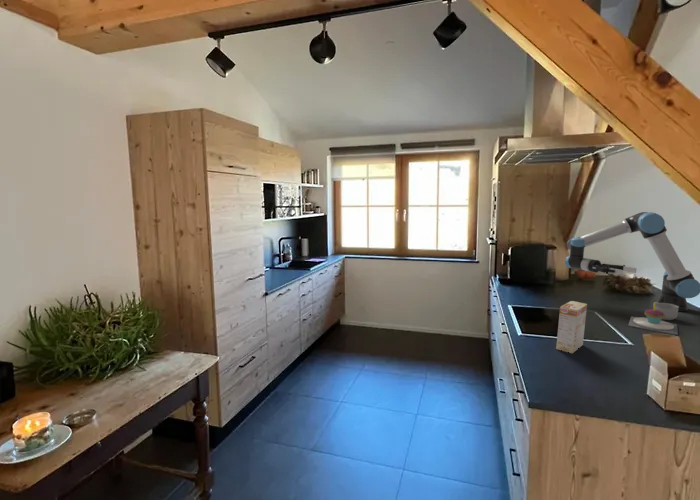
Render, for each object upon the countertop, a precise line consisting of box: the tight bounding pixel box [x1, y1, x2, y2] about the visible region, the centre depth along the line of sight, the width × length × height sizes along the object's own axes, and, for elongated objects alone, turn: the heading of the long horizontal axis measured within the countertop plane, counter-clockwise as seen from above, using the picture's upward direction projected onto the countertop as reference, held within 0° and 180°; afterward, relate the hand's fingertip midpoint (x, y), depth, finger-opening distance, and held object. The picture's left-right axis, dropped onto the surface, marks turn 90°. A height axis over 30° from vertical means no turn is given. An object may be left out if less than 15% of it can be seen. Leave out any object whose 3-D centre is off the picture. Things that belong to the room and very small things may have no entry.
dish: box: [627, 316, 679, 336], centre depth 203 cm, size 20×20×2 cm
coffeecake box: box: [555, 300, 588, 354], centre depth 170 cm, size 15×7×20 cm, turn 133°
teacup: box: [652, 301, 679, 321], centre depth 217 cm, size 14×11×8 cm
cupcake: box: [644, 301, 665, 324], centre depth 202 cm, size 9×8×12 cm
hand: (629, 271), depth 215 cm, fingers open, 13 cm apart
